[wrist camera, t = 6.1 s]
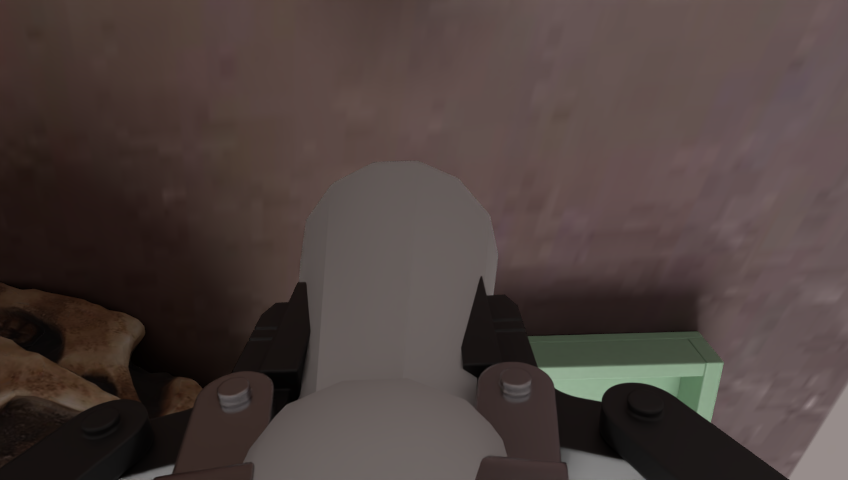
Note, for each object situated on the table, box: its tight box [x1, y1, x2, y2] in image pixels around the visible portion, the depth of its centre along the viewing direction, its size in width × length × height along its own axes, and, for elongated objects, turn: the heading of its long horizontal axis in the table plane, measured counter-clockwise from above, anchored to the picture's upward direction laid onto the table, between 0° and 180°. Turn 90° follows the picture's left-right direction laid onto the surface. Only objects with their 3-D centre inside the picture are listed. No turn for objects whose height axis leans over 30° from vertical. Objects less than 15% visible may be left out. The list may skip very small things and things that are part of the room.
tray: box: [528, 331, 724, 423], centre depth 29 cm, size 18×15×3 cm
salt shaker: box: [243, 161, 507, 480], centre depth 12 cm, size 6×6×13 cm
